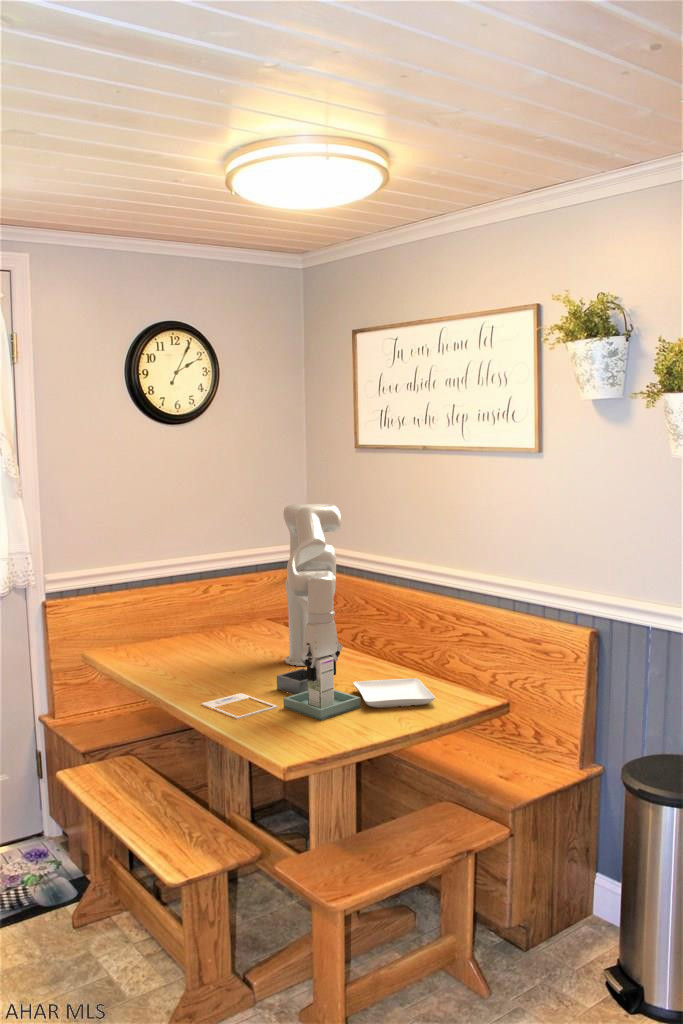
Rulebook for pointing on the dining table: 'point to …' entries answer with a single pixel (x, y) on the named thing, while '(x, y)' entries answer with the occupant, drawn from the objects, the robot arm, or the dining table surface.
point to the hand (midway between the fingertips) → (321, 676)
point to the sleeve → (293, 681)
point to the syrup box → (322, 684)
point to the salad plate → (394, 692)
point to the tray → (341, 705)
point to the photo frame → (233, 699)
